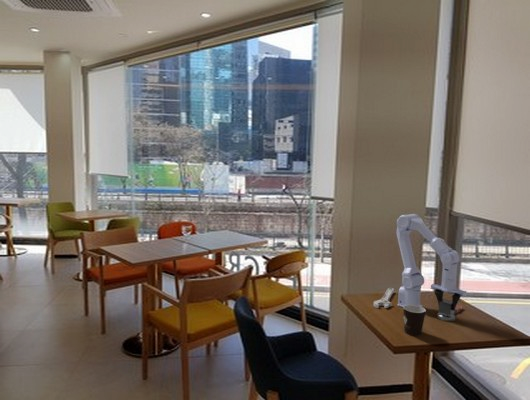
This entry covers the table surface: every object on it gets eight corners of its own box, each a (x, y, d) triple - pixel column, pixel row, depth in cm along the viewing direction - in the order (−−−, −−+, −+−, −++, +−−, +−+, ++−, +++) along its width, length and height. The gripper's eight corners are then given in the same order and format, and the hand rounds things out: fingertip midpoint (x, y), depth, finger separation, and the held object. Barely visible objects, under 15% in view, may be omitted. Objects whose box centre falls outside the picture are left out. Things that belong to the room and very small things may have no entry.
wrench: (399, 289, 219) (389, 306, 192) (399, 292, 219) (389, 310, 192) (383, 286, 222) (372, 303, 195) (383, 289, 222) (372, 307, 195)
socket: (438, 312, 184) (439, 301, 183) (442, 309, 187) (443, 298, 187) (450, 315, 180) (451, 304, 180) (454, 312, 184) (454, 301, 183)
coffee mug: (424, 338, 163) (426, 314, 162) (401, 334, 166) (402, 310, 165) (424, 327, 174) (425, 304, 173) (402, 324, 177) (403, 301, 176)
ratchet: (434, 318, 184) (435, 308, 184) (451, 306, 200) (452, 296, 200) (451, 323, 179) (452, 312, 179) (467, 310, 195) (468, 300, 195)
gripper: (428, 276, 184) (426, 306, 186) (463, 283, 175) (461, 315, 176) (434, 273, 190) (432, 302, 191) (468, 280, 180) (466, 310, 181)
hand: (446, 308), depth 184 cm, fingers closed on socket, 5 cm apart
